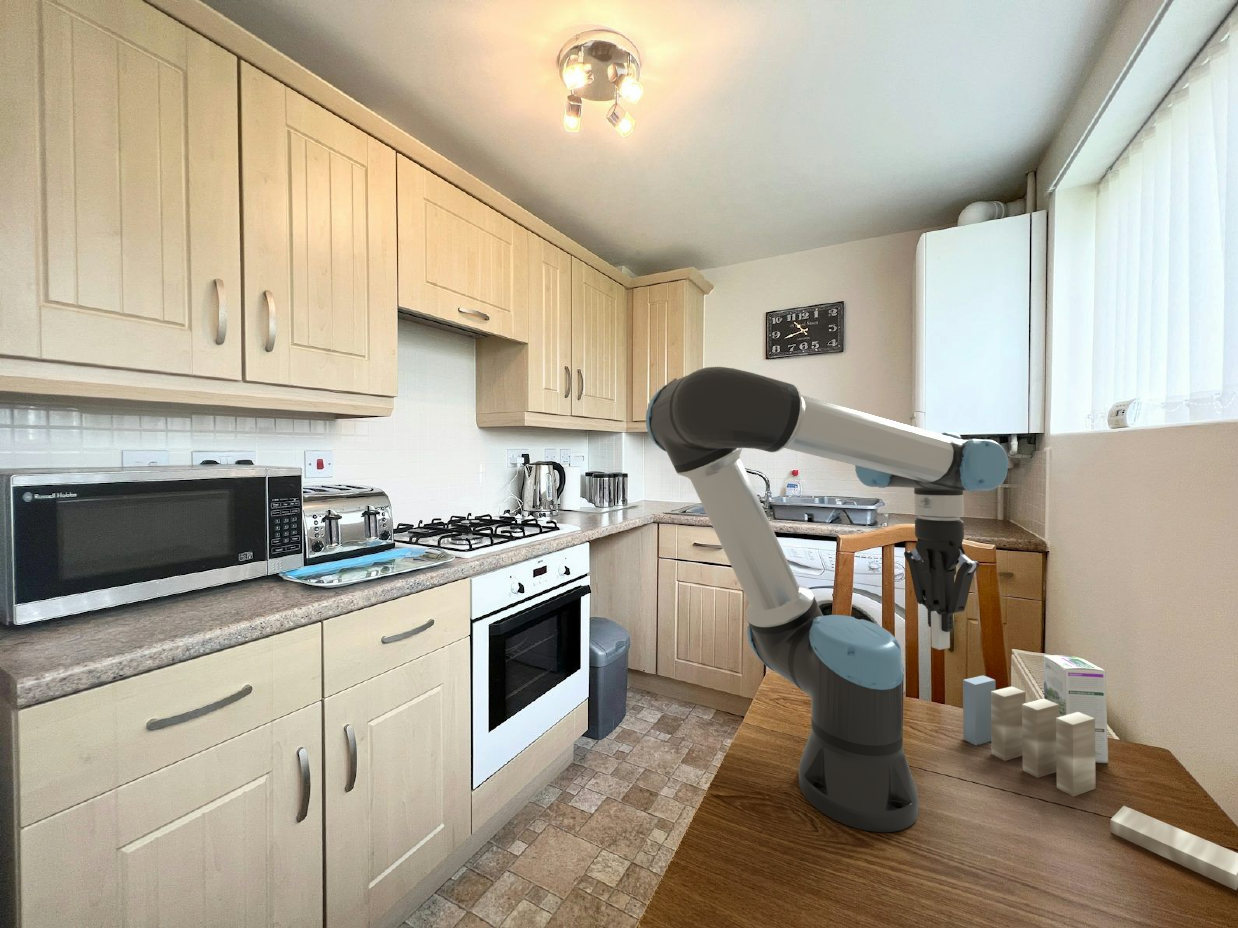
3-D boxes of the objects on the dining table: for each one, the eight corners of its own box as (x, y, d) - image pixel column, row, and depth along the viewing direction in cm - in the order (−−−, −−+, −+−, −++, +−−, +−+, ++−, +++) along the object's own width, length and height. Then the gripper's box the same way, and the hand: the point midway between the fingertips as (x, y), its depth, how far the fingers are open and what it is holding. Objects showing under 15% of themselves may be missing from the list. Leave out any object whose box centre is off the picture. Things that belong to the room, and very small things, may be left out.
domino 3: (1022, 770, 75) (1022, 703, 75) (1044, 763, 77) (1043, 698, 77) (1037, 777, 73) (1037, 710, 73) (1059, 770, 75) (1058, 704, 75)
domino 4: (1056, 787, 71) (1056, 717, 71) (1078, 780, 73) (1078, 711, 73) (1073, 796, 69) (1072, 724, 69) (1095, 788, 71) (1094, 718, 71)
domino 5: (1110, 819, 62) (1236, 875, 54) (1123, 805, 65) (1245, 856, 56) (1110, 835, 62) (1236, 893, 54) (1123, 820, 65) (1246, 874, 56)
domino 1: (963, 739, 83) (962, 679, 84) (983, 733, 85) (983, 675, 85) (975, 745, 82) (975, 684, 82) (995, 739, 83) (995, 679, 83)
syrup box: (1110, 764, 76) (1109, 669, 76) (1065, 759, 77) (1064, 667, 78) (1083, 743, 82) (1082, 655, 82) (1042, 740, 83) (1041, 653, 83)
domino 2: (991, 753, 79) (990, 691, 79) (1012, 747, 81) (1011, 686, 81) (1004, 760, 77) (1004, 696, 77) (1026, 754, 79) (1025, 691, 79)
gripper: (892, 515, 95) (894, 638, 95) (959, 522, 83) (961, 663, 83) (921, 513, 98) (922, 633, 98) (990, 520, 85) (992, 657, 85)
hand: (940, 647), depth 90 cm, fingers closed
